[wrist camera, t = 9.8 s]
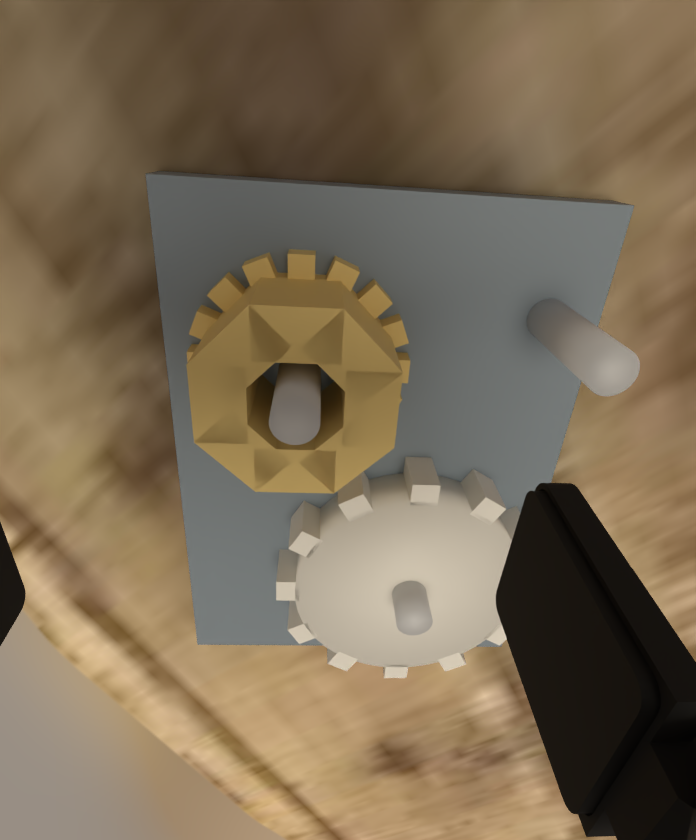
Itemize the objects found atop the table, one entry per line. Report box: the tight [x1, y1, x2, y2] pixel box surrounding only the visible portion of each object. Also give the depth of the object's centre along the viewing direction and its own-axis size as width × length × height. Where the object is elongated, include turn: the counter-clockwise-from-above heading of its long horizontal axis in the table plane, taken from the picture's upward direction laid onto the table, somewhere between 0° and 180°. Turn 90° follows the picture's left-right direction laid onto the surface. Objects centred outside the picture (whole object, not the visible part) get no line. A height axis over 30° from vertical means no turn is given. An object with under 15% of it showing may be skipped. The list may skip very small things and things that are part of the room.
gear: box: [186, 249, 410, 494], centre depth 18 cm, size 8×8×4 cm
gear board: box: [146, 171, 640, 678], centre depth 21 cm, size 22×16×6 cm
